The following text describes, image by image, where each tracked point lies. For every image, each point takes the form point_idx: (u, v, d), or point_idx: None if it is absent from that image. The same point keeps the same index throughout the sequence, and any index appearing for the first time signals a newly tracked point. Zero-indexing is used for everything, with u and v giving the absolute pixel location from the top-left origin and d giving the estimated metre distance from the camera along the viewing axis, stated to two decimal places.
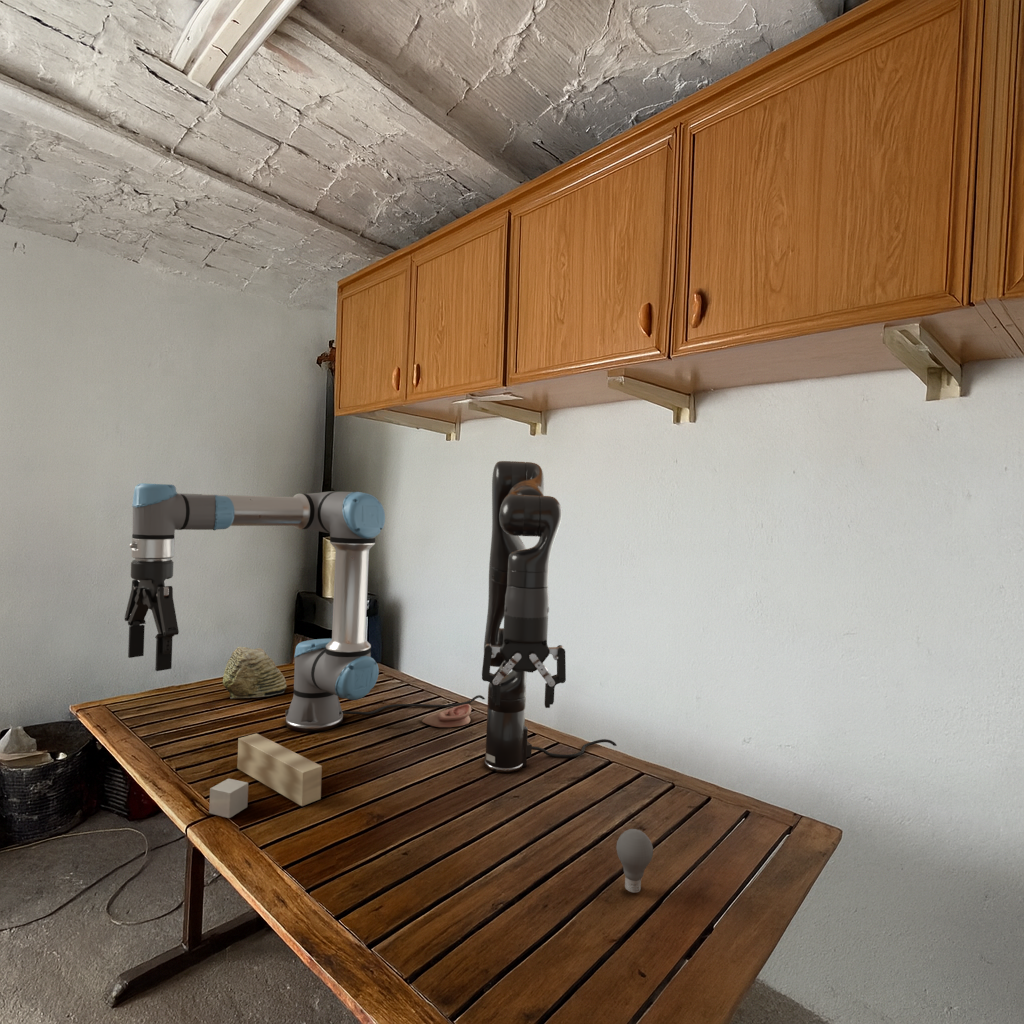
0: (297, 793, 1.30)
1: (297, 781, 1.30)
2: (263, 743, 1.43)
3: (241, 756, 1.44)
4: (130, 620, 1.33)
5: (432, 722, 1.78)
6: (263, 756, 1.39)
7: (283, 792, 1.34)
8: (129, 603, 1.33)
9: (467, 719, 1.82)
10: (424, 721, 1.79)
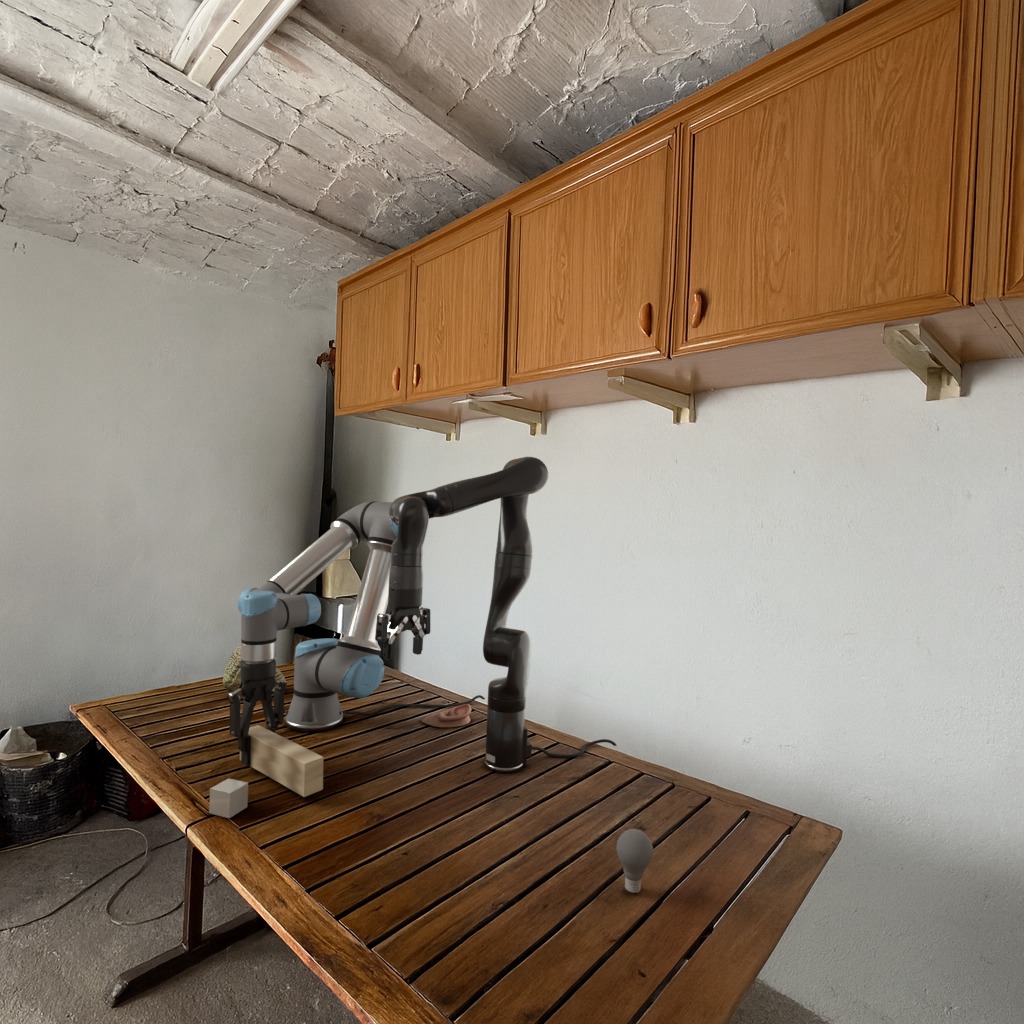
0: (299, 784, 1.31)
1: (299, 772, 1.31)
2: (265, 734, 1.44)
3: None
4: None
5: (432, 722, 1.78)
6: (265, 748, 1.39)
7: (285, 783, 1.34)
8: None
9: (467, 719, 1.82)
10: (424, 721, 1.79)
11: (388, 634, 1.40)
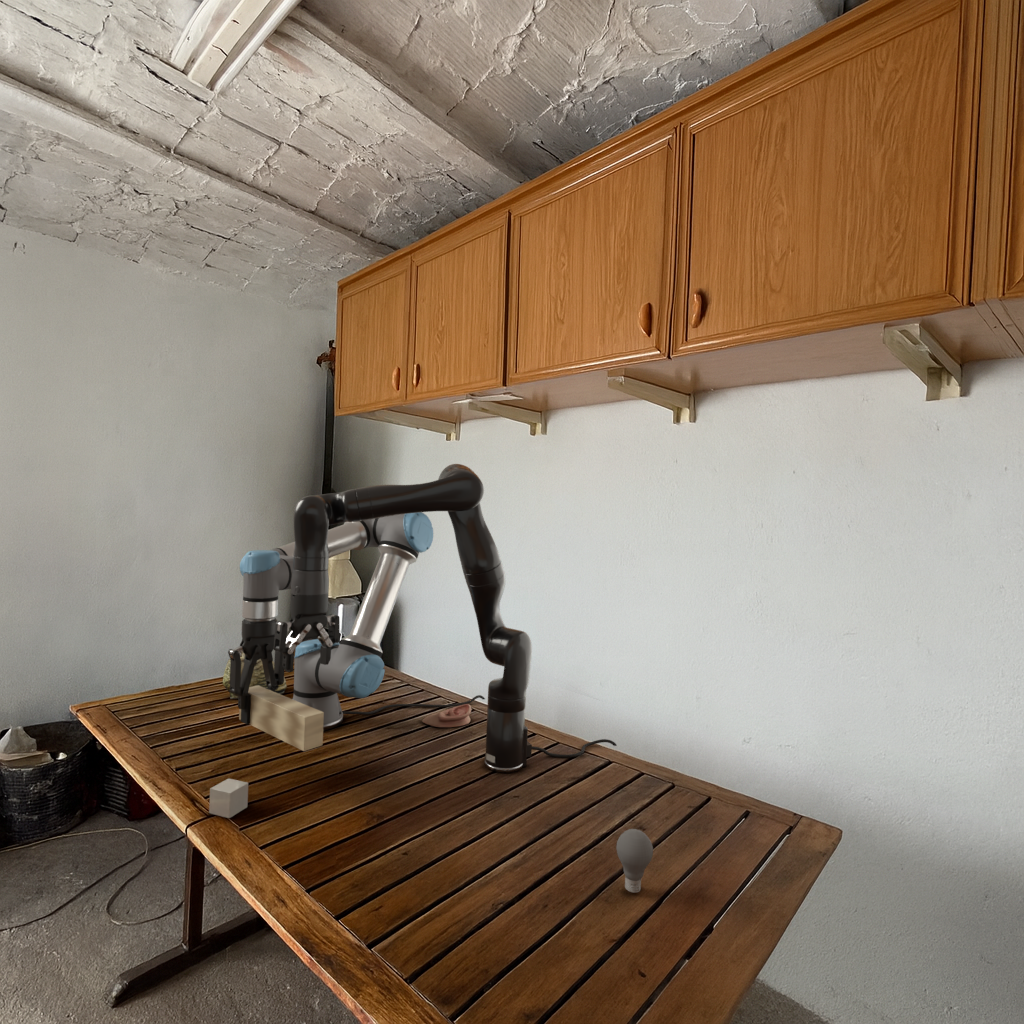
0: (299, 738, 1.30)
1: (299, 727, 1.30)
2: (265, 693, 1.43)
3: None
4: None
5: (432, 722, 1.78)
6: (265, 705, 1.38)
7: (285, 738, 1.33)
8: None
9: (467, 719, 1.82)
10: (424, 721, 1.79)
11: (289, 643, 1.30)
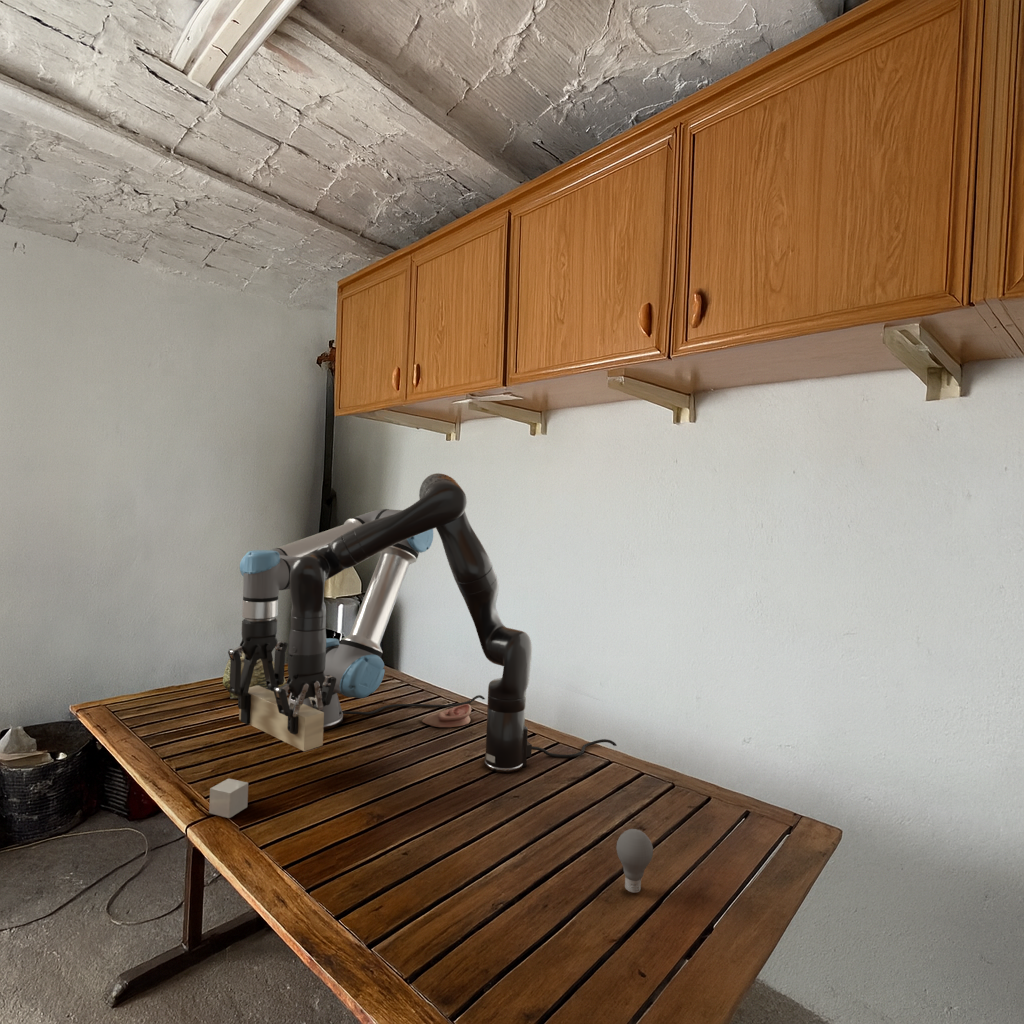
0: (299, 738, 1.30)
1: (299, 727, 1.30)
2: (265, 693, 1.43)
3: None
4: None
5: (432, 722, 1.78)
6: (265, 705, 1.38)
7: (285, 739, 1.33)
8: None
9: (467, 719, 1.82)
10: (424, 721, 1.79)
11: (292, 704, 1.31)
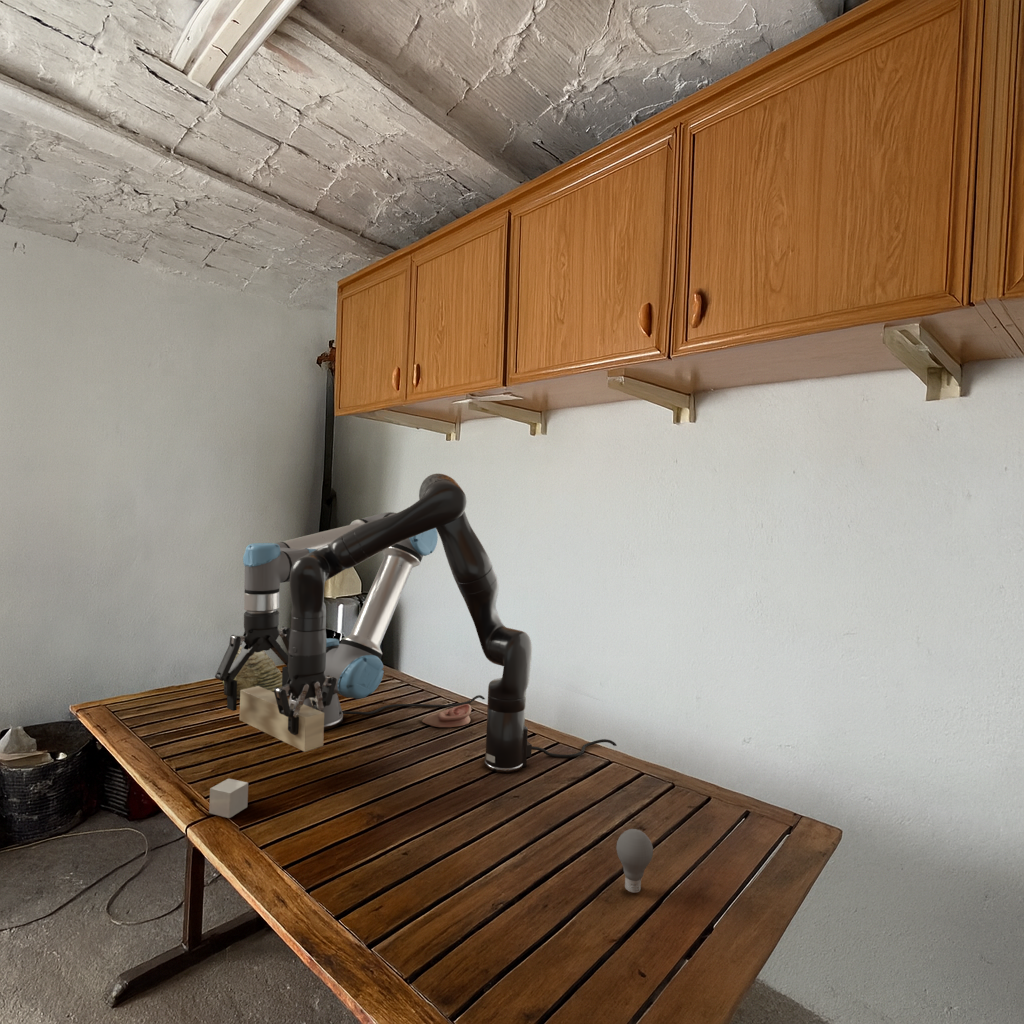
0: (300, 739, 1.30)
1: (299, 727, 1.30)
2: (265, 693, 1.43)
3: (243, 707, 1.44)
4: None
5: (432, 722, 1.78)
6: (265, 705, 1.38)
7: (285, 739, 1.33)
8: None
9: (467, 719, 1.82)
10: (424, 721, 1.79)
11: (293, 705, 1.31)
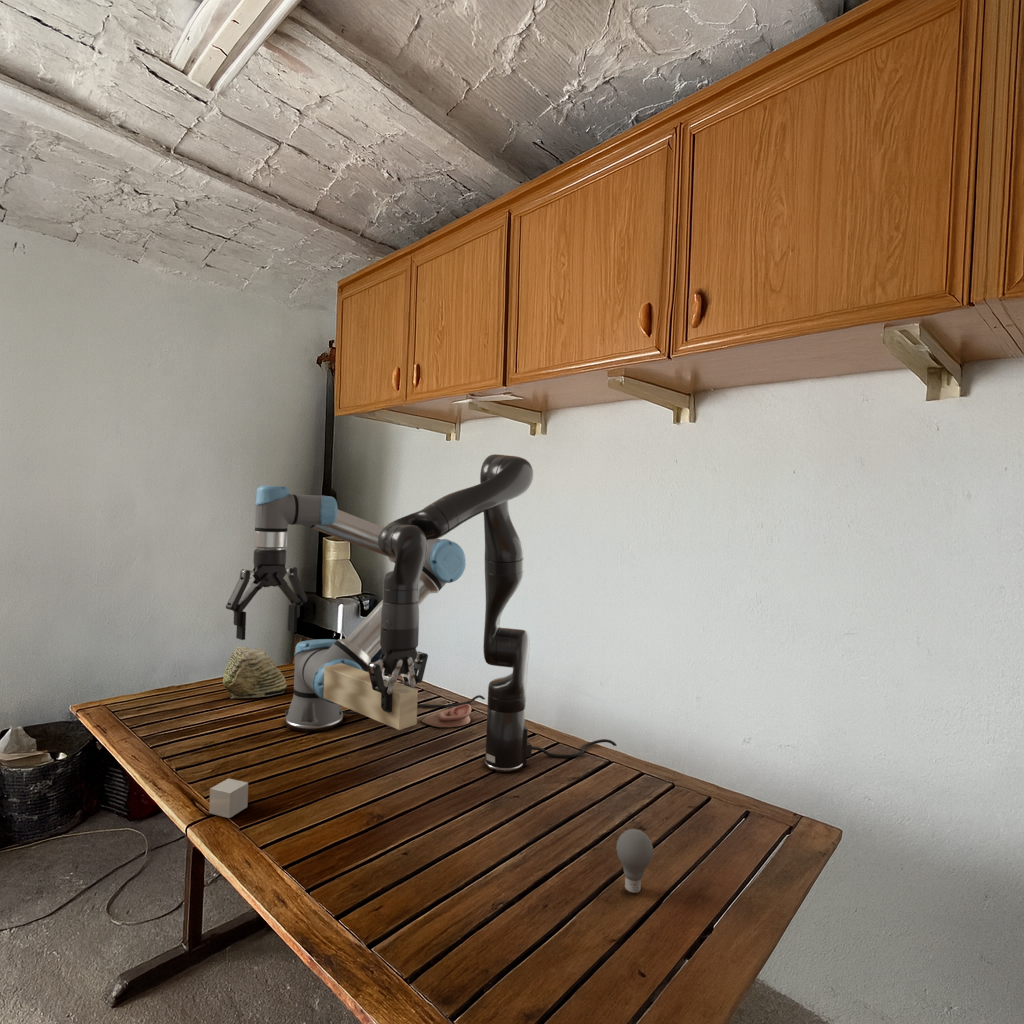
0: (394, 717, 1.24)
1: (393, 704, 1.24)
2: (351, 670, 1.37)
3: (328, 685, 1.39)
4: None
5: (432, 722, 1.78)
6: (353, 682, 1.33)
7: (377, 717, 1.28)
8: None
9: (467, 719, 1.82)
10: (424, 721, 1.79)
11: (385, 681, 1.25)
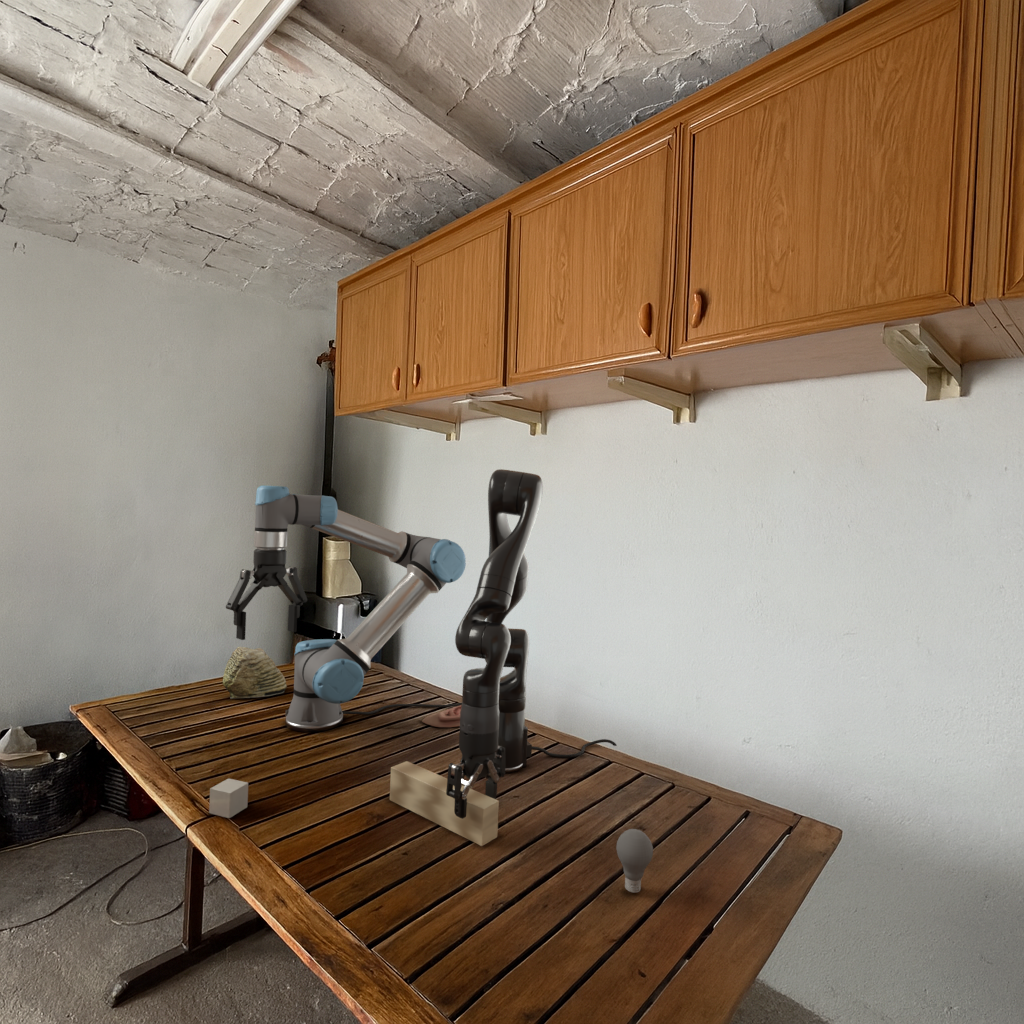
0: (476, 831, 1.18)
1: (475, 818, 1.19)
2: (420, 772, 1.31)
3: (395, 787, 1.32)
4: None
5: (432, 722, 1.78)
6: (426, 788, 1.27)
7: (455, 829, 1.22)
8: None
9: None
10: (424, 721, 1.79)
11: (460, 785, 1.19)
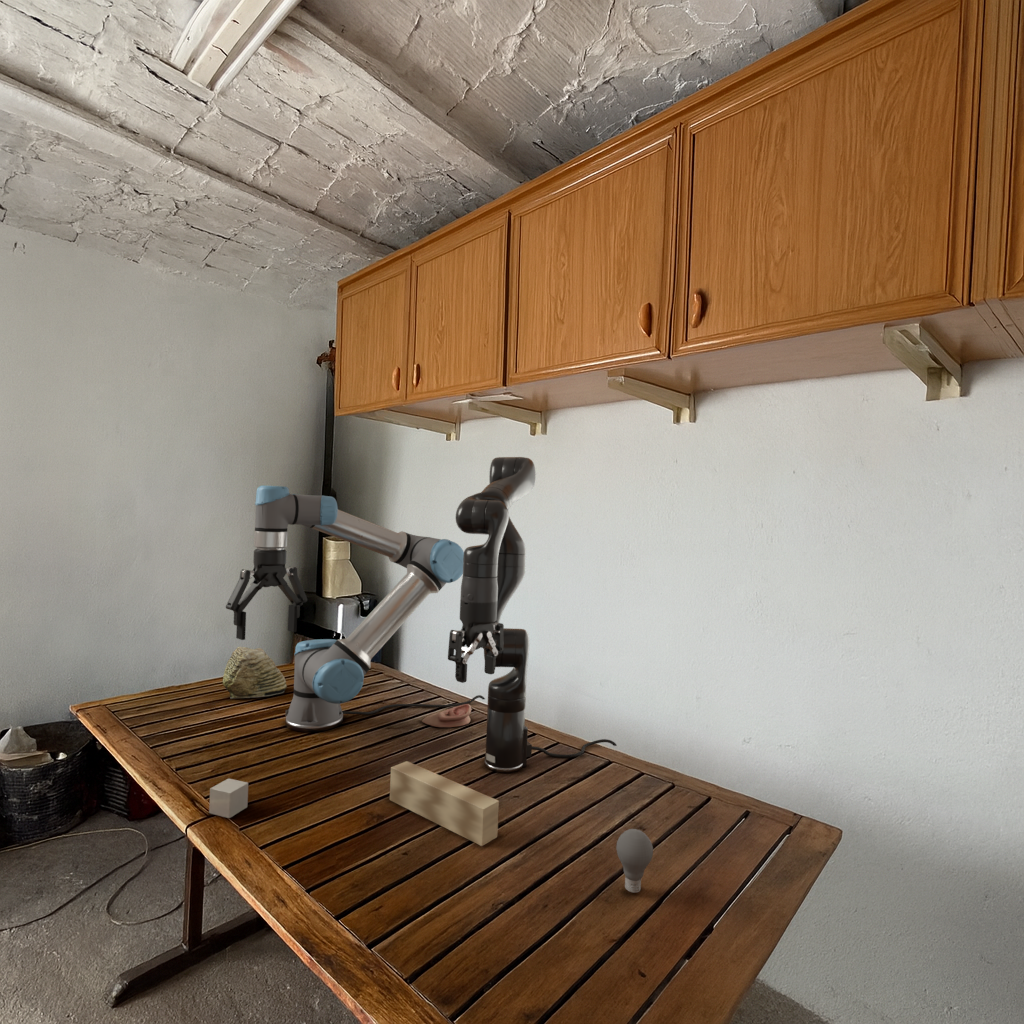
0: (476, 831, 1.18)
1: (475, 818, 1.19)
2: (420, 772, 1.31)
3: (395, 787, 1.32)
4: None
5: (432, 722, 1.78)
6: (426, 788, 1.27)
7: (455, 829, 1.22)
8: None
9: (467, 719, 1.82)
10: (424, 721, 1.79)
11: (461, 652, 1.26)
